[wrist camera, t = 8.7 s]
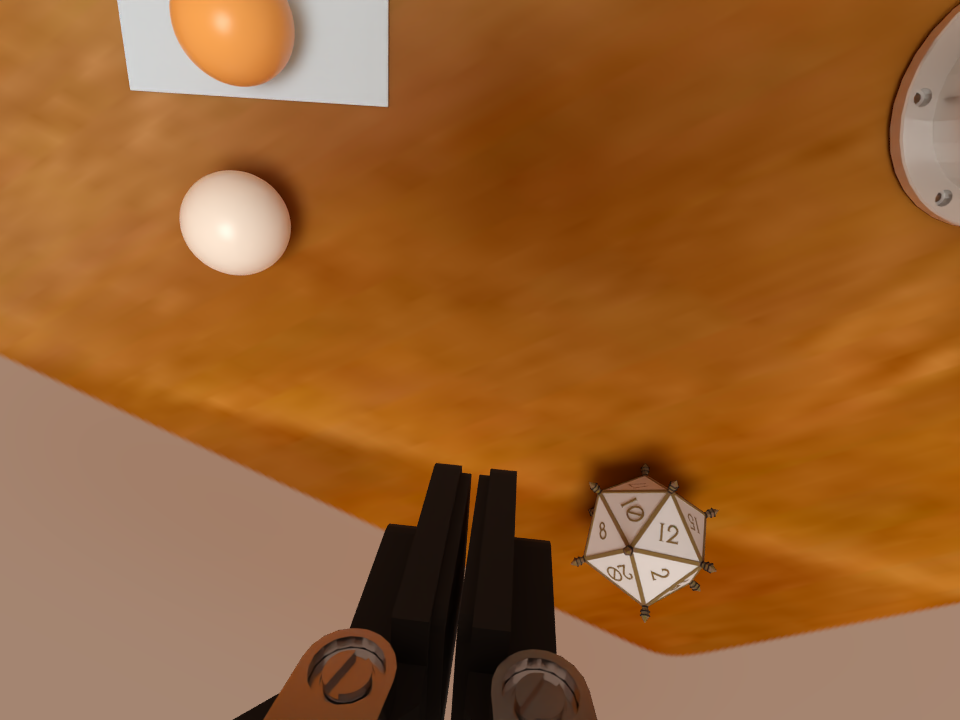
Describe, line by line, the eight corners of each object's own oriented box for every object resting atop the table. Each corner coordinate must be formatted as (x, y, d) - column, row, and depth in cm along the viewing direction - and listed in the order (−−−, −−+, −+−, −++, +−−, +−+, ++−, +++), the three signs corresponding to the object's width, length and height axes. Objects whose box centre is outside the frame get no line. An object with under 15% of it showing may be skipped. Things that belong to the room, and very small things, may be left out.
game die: (622, 493, 43) (618, 635, 38) (554, 450, 39) (538, 605, 33) (739, 476, 37) (754, 641, 32) (675, 423, 33) (680, 605, 28)
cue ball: (288, 293, 30) (313, 239, 34) (252, 197, 26) (285, 149, 30) (189, 297, 30) (225, 244, 34) (140, 204, 27) (187, 156, 31)
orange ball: (311, 91, 31) (305, -30, 28) (277, 91, 26) (267, -55, 23) (209, 82, 31) (195, -40, 28) (155, 81, 26) (133, -67, 23)
